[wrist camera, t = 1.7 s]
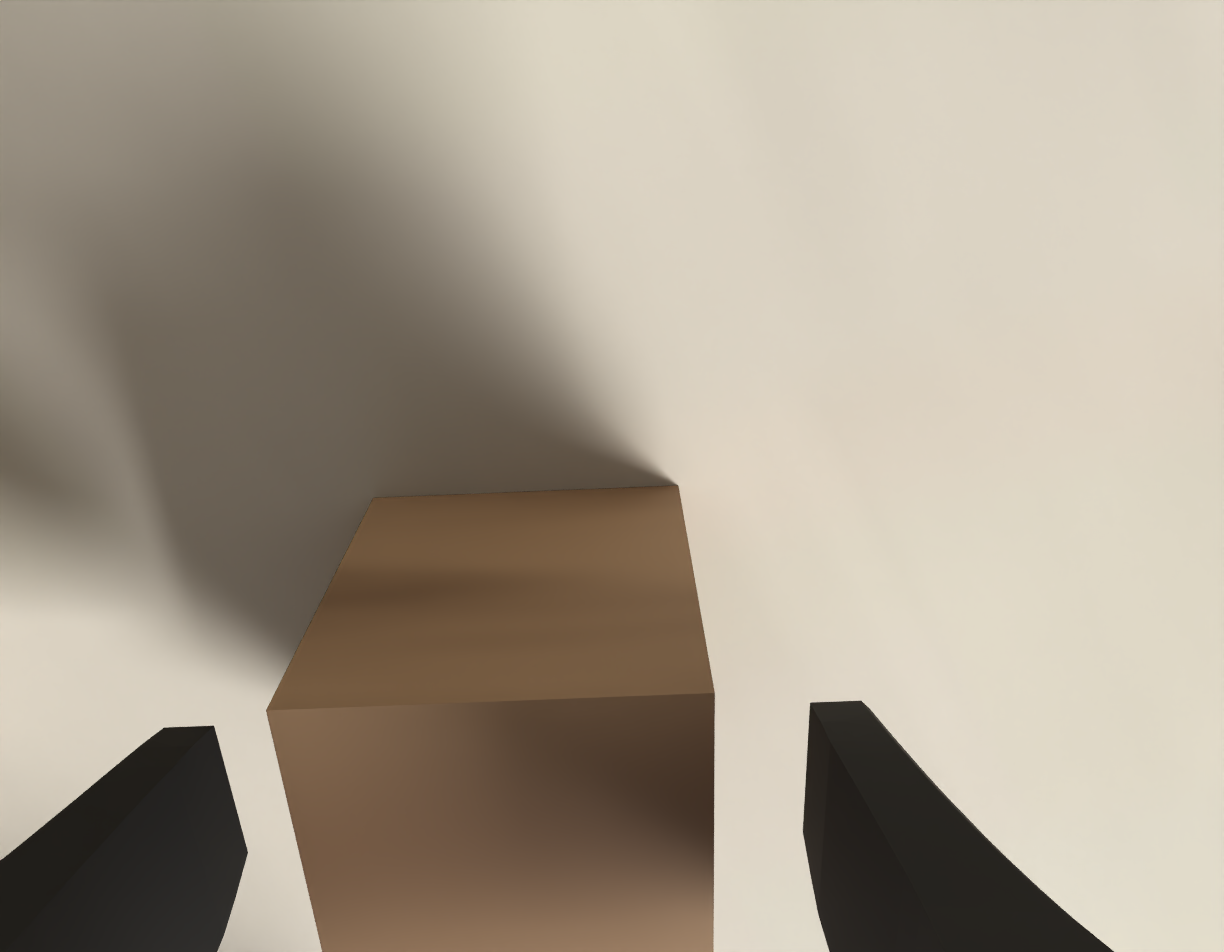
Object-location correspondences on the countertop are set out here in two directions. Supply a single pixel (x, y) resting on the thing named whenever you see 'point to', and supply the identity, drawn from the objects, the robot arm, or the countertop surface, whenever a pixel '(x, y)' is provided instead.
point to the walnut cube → (506, 729)
